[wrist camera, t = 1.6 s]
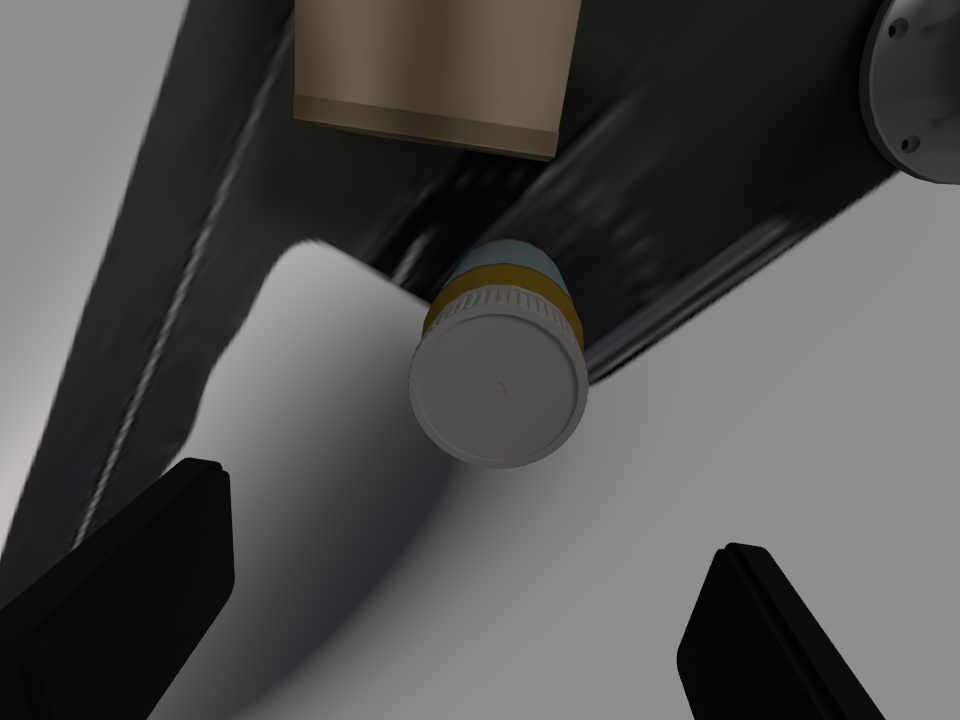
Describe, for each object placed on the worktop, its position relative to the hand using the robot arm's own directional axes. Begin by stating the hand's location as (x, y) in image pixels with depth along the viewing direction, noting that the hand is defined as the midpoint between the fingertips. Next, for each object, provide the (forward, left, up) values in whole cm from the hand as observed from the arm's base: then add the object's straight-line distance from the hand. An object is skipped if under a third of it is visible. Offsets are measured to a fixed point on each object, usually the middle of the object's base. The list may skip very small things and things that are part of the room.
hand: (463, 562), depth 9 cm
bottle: (0, 0, -23) cm, 23 cm away
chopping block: (+5, -14, -23) cm, 27 cm away
